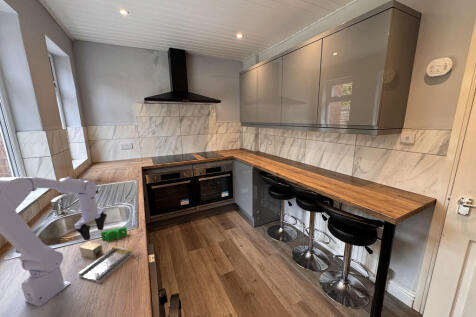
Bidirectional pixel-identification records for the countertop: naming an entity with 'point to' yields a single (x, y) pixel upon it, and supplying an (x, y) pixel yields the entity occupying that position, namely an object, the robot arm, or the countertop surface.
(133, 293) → the countertop surface
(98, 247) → the tan notched block
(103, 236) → the pipe clamp
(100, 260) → the silver channel bracket
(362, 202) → the countertop surface
